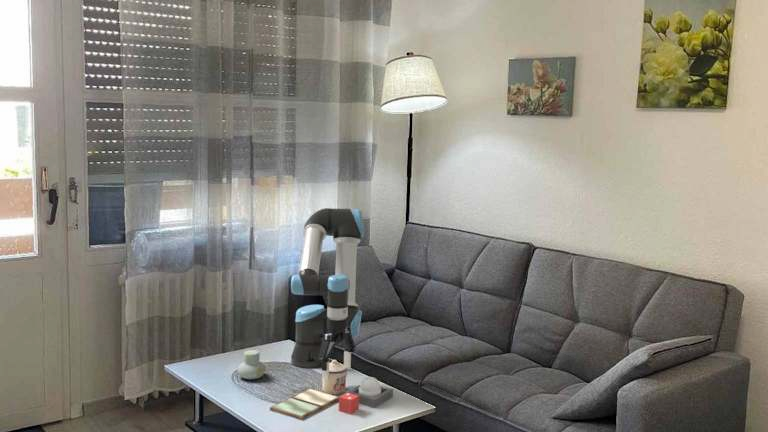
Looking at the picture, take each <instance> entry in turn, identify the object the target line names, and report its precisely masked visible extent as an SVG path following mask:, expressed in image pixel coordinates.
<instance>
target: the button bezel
mask: <svg viewBox="0 0 768 432" xmlns="http://www.w3.org/2000/svg"><path fill="white" fill-rule="evenodd" d="M359 387H360V384H358V385H357V386H355V387H354V388H353V387H352V389H350V390H348V391H345V392H346V393H351V394H354V395H358V396H359V405H363V406H366V407H369V408H372V409H373V408H374V409H375V408H377V407H378V406H381V405H382V404H384V403H386V402H388V401H389V400H391V399H392V398H393V397H394V389H393V388H390V387H385V386H381V385H380V387H381V394H379V395H377V396H375V397H374V398H373V397H370V396H366V395H362V394H359ZM346 393H345V394H346Z"/></svg>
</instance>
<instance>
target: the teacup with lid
mask: <svg viewBox="0 0 768 432" xmlns="http://www.w3.org/2000/svg"><path fill="white" fill-rule="evenodd" d="M347 374H348V369H347V368H346V366H345V365H344V363H343V364H342V363H340V362H338V361H337V359H332V360H331V362H329V379H324V378H322V377H321V378H322V381H321V382H322V388H321V389H322V392H323V391H324V392H325V393H328V394H334V395H335V396H338V395H341V394H342V395H343V393H344V394H345V392H346V390H347V389H346V388H347V385H346V383H347V380H346V378H347V377H348V376H347Z"/></svg>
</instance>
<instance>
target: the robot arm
mask: <svg viewBox="0 0 768 432" xmlns="http://www.w3.org/2000/svg"><path fill="white" fill-rule="evenodd" d="M363 219H364V217H363V212H362V210H361V209H356V208H332V207H331V208H329V207H328V208H325V207H324V208H321V209H319V210H317V211H315V212H314V213H313V214H311V216H310V217H308V219H307V220H306V222H305V223H304V226H303V230H302V231H303V232H302V233H303V234H302V235H303V237H304V239H303V246H302V251H301V258H300V262H299V267H298V268H299V269H298V273H297V274H293V275H292V276H291V281H290V290H291V294H293V295H300V296H327V308H325V306H324V305H322V304H310V305H309V304H308V305H304V306H301V307H300V308H298V309H297V310H296V312H295V320H294V321H295V343H294V348H293V350H292V354H291V356H290V363H291V364H292V365H293V366H295V367H298V368H303V369H305V368H306V369H307V368H309V369H310V368H311V369H313V368H314V369H315V368H321V378H324V379H329V363H330V361H329V359H330V357H331V355H332V352H333V350H334V348H335V346H337V344H339V343H341V345H342V347H343V349H344V351H343V365H345V366H346V368H347V370H351V369H352V368H351V367H352V365H351V364H352V353H354V352H355V349H356V344H355V342H354V340H355V339H357V337H358V336H359V332H360V327H361V326H360V325H361V323H362V321H361V320H362V313H363V311H362V310H360V309H359V305H358V304H357V302H356V280H357V279H356V278H357V277H356V276H357V255H358V254H357V249H358V245H359V244H360V242H361V239H362V238H364V237H365V229H364V220H363ZM327 236H328V237H332V238H333V239H332V241H334V243H335V244H336V247H335V251H336V252H335V267H334V268H335V270H334V271H335V274H333V275H321V274H319V272H320V264H321V258H322V257H321V255H322V250H323V242H324V240H325V239H326V237H327Z"/></svg>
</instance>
